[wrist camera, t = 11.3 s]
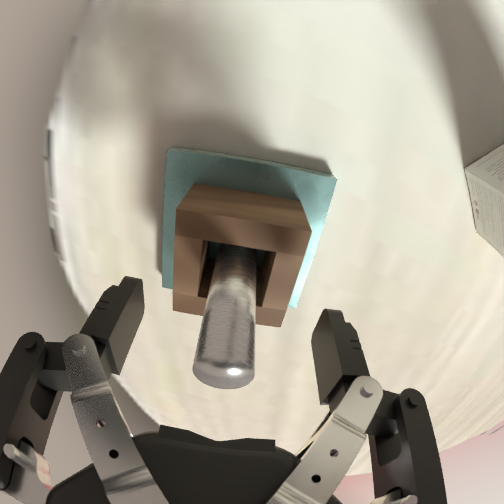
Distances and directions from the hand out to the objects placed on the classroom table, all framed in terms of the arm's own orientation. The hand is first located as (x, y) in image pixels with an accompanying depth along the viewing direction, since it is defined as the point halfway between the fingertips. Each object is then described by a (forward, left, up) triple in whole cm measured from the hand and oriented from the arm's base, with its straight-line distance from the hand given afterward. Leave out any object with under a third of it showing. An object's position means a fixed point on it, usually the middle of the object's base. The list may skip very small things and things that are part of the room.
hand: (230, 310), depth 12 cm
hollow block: (0, 0, -7) cm, 7 cm away
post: (0, 0, -8) cm, 8 cm away
